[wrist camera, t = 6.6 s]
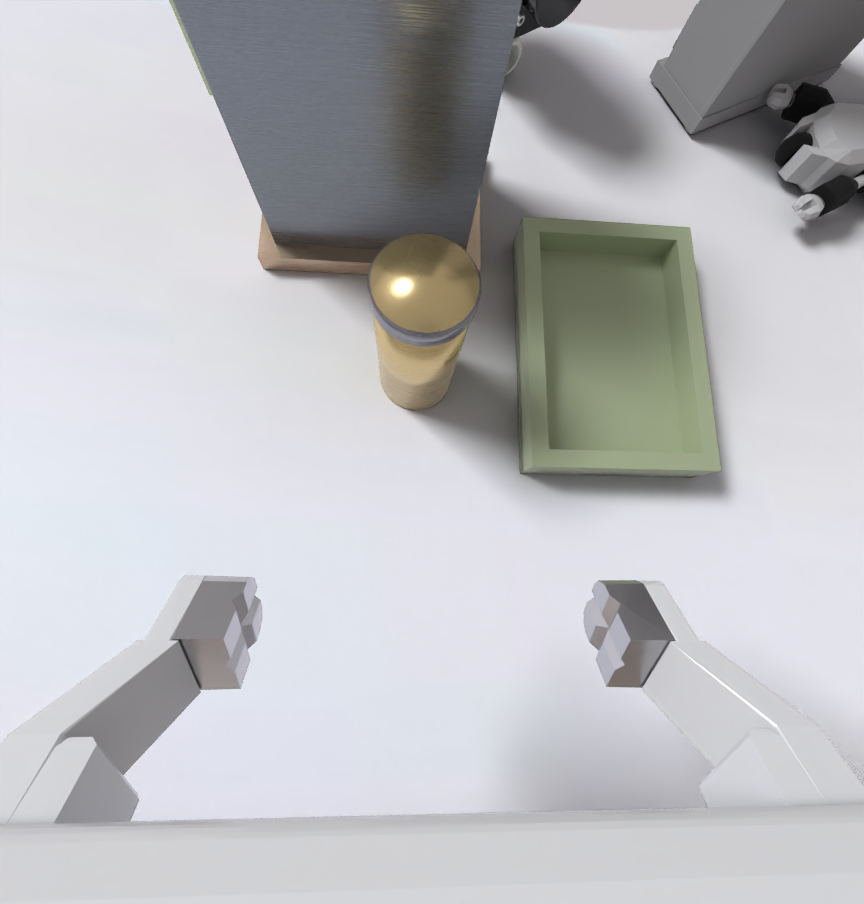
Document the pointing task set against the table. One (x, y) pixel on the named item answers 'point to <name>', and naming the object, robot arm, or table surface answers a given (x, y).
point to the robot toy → (820, 147)
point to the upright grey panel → (753, 54)
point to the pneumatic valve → (538, 21)
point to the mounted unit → (356, 117)
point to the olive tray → (610, 351)
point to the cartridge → (421, 315)
